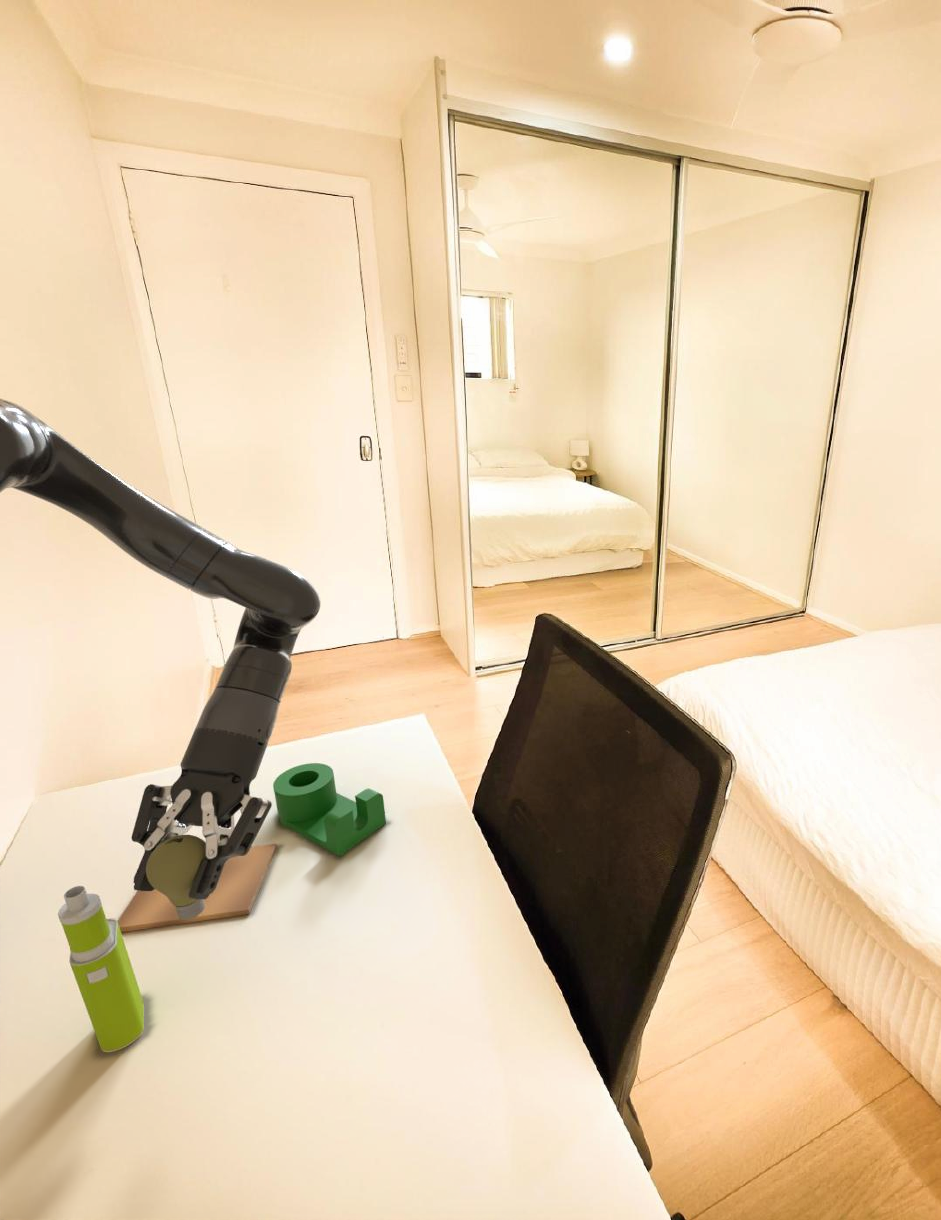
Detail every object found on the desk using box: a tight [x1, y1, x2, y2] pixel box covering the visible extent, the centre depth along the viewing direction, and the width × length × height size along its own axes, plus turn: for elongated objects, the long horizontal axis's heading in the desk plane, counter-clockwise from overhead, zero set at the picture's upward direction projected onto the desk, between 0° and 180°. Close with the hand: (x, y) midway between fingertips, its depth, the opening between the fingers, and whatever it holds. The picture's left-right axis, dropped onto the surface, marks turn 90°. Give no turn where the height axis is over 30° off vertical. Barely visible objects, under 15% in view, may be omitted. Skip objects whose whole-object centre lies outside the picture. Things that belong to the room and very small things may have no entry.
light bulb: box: [146, 834, 207, 920], centre depth 63 cm, size 6×6×10 cm
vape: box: [57, 885, 145, 1053], centre depth 63 cm, size 4×6×20 cm, turn 36°
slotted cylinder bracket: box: [272, 762, 387, 857], centre depth 99 cm, size 18×9×6 cm, turn 61°
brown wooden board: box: [117, 843, 278, 933], centre depth 85 cm, size 16×13×1 cm
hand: (170, 894), depth 62 cm, fingers closed on light bulb, 5 cm apart
